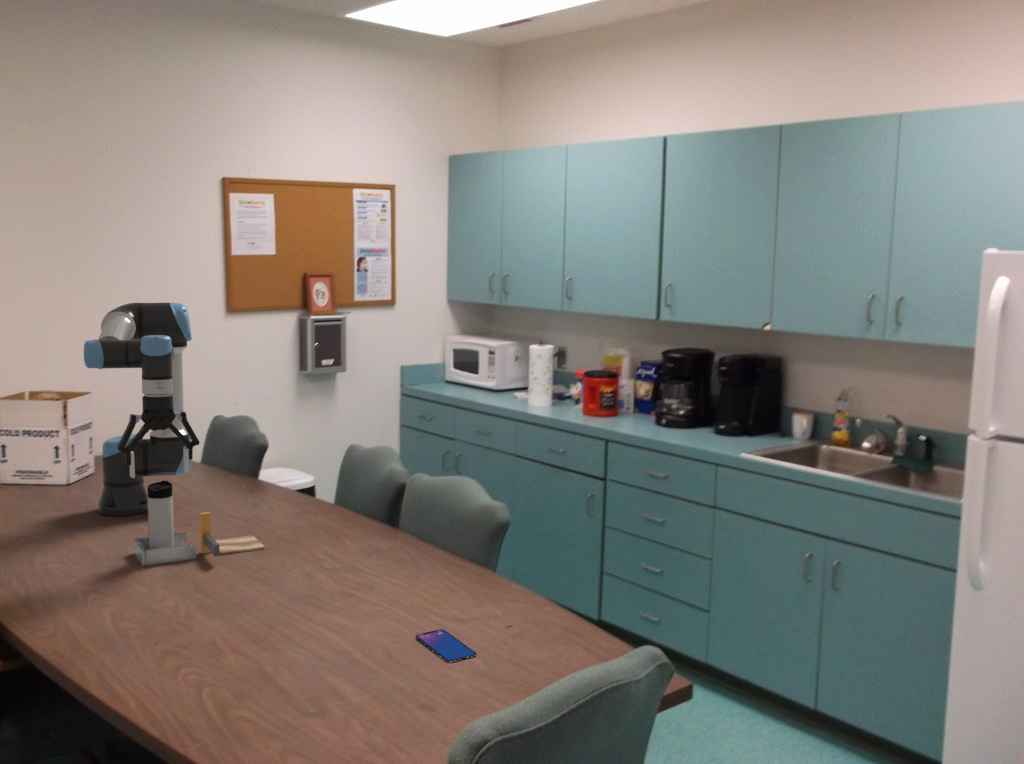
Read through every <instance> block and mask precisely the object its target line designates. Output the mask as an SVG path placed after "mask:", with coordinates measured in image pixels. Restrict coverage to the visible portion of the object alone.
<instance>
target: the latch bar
mask: <svg viewBox="0 0 1024 764" xmlns="http://www.w3.org/2000/svg"><path fill="white" fill-rule="evenodd" d="M211 522H212V521H211V512H210V511H206V512H200V513H199V525H200V528H199V531H200V536H199V537H200V553H201V554H210V553H211V554H212V556H214V557H220V555H221V554H220V553H219V544H218V543H217V542H216V541H215V540H216V539H215V538H213V536H212V535H211V534H212V531H211V530H212V528H211V525H212V523H211Z"/></svg>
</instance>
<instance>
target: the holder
mask: <svg viewBox="0 0 1024 764" xmlns="http://www.w3.org/2000/svg"><path fill="white" fill-rule="evenodd" d="M187 539H188V538H187V532H184V531H183V532H176V533H175V532H174V546H169V547H162V548H155V549H149V536H146V537H138V538H137V537H136V538H133V554H134V556H135V557H136V558H137V560H138V561H139V564H140V565H141V567H147V566H154V565H162V564H168V563H175V562H181V561H182V562H183V561H188V560H195V559H196V560H197V544H196V543H195V542H193V543H188V542H187Z"/></svg>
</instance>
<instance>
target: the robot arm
mask: <svg viewBox="0 0 1024 764" xmlns="http://www.w3.org/2000/svg"><path fill="white" fill-rule="evenodd" d="M100 330H101V332H100V334H99V337H98V339H91V340H86V341H85V342H84V344H83V360H84V365H85V367H86V368H88V369H98V370H101V369H141V393H142V394H143V396H142V399H141V400H142V413H141V414H134V413H130V415H129V419H128V424H127V426H126V428H125V430H124V432H123V434H121V435H118V436H114V437H111V438H109V439H106V440H105V441H104V443H102V454H101V458H102V476H103V477H102V479H103V480H102V481H103V488H102V492H101V494H100V498H99V500H98V505H97V507H98V508H97V511H98V513H99V514H100V515H102V516H103V515H104V516H109V517H123V516H124V517H125V516H133V515H134V516H135V515H138V514H143V513H145V512H148V490H147V488H146V487H145V479H144V477H157V476H159V477H161V476H174V477H175V476H179V475H187V474H188V473H190V471H191V469H192V468H191V466H192V460H193V457H194V456H193V452H194V451H193V450H194V447H195V446H199V445H200V443H201V442H200V440H199V438H198V437H197V435H196V433H195V432H194V430H193V428H192V426H191V424H190V423H189V421H188V419H187V413H186V411H184V410H185V409H184V384H183V382H184V379H183V378H184V377H183V352H184V351H185V349H187V347H188V342H191V341H192V339H193V336H192V335H193V334H192V328H191V323H190V317H189V311H188V308H187V306H186V305H185V304H184V303H180V302H179V303H178V302H129V303H126V304H122V305H120V306H117V307H116V308H113V309H111V310H109V311H108V313H106V314H105V315H104V317H102V320H101V323H100ZM140 420H141V421H142V422H143V425H142V426H141V427H140V430H138V432H137V433H136V434H135V433H133V431H134V429H135V427H136V424H138V423H139V422H140ZM149 431H151V432H150V433H149ZM147 433H149V438H144V437H145V436H146V434H147Z"/></svg>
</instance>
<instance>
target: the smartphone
mask: <svg viewBox="0 0 1024 764" xmlns="http://www.w3.org/2000/svg"><path fill="white" fill-rule="evenodd" d="M416 638H417V639H418V640H419V641H420V642H419V641H418V640H417V639H416ZM415 639H416V640H417V641H418V642H419V643H421V642H422V643H423V644H425V647H426V646H427V647H429V648H430V649H431V650H433V651H434V652H435V653H437V654H438V655H439V656H441V657H442V658H443V659H445V660H446V661H454V660H459V659H462V660H464V659H463V658H466V657H468V656H469V657H471V656H474V655H476V656H477V653H476V651H474V650H473V649H471V648H470V647H469V646H467V644H464V643H463V642H462V641H461V640H459V639H458V638H456V637H455V636H454V635H452V634H451V633H450V632H448V631H447V630H446V629H442V628H441V629H436V630H431V631H427V632H423V633H422V632H421V633H417V634H416V635H415ZM422 643H421V644H422ZM423 644H422V645H423ZM427 647H426V648H427ZM430 649H429V650H430ZM431 650H430V651H431ZM434 652H433V653H434ZM435 653H434V654H435ZM438 655H437V656H438ZM439 656H438V657H439ZM442 658H441V659H442ZM443 659H442V660H443ZM446 661H445V662H446Z"/></svg>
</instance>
